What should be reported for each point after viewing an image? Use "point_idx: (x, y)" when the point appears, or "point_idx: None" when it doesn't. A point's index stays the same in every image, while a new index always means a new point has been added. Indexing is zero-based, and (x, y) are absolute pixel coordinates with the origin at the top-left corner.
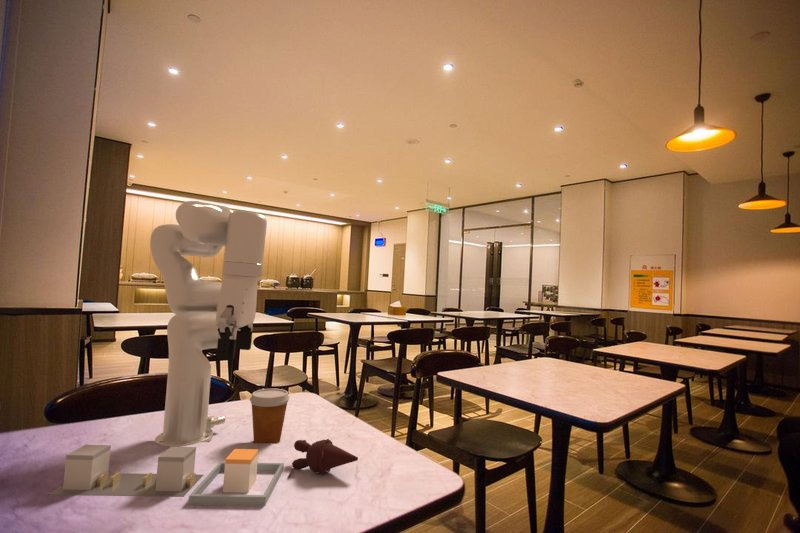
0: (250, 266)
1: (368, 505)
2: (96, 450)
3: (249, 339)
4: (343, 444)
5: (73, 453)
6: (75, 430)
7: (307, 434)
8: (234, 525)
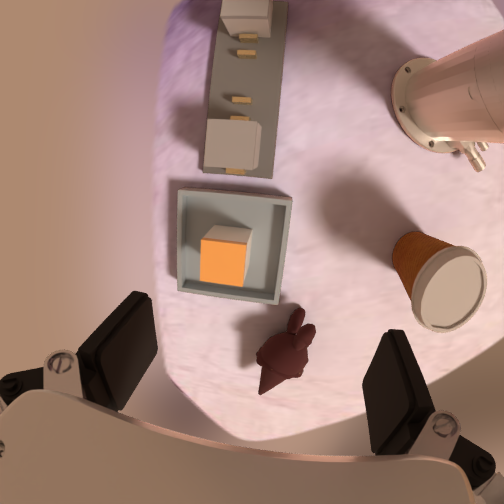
0: None
1: (200, 377)
2: (242, 8)
3: (369, 421)
4: None
5: None
6: None
7: None
8: (156, 253)
